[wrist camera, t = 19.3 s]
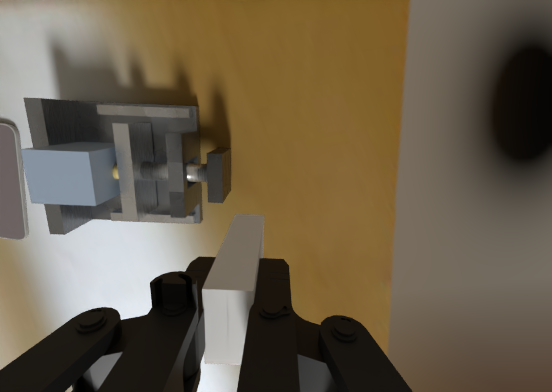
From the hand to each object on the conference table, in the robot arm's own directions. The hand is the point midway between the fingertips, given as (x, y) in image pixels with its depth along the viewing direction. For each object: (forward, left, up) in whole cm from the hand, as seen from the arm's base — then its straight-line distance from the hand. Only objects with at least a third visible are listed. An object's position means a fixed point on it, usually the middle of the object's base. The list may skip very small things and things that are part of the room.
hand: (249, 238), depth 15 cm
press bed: (0, -15, -20) cm, 26 cm away
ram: (0, -9, -19) cm, 21 cm away
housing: (0, -18, -19) cm, 27 cm away
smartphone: (+3, -34, -21) cm, 40 cm away
